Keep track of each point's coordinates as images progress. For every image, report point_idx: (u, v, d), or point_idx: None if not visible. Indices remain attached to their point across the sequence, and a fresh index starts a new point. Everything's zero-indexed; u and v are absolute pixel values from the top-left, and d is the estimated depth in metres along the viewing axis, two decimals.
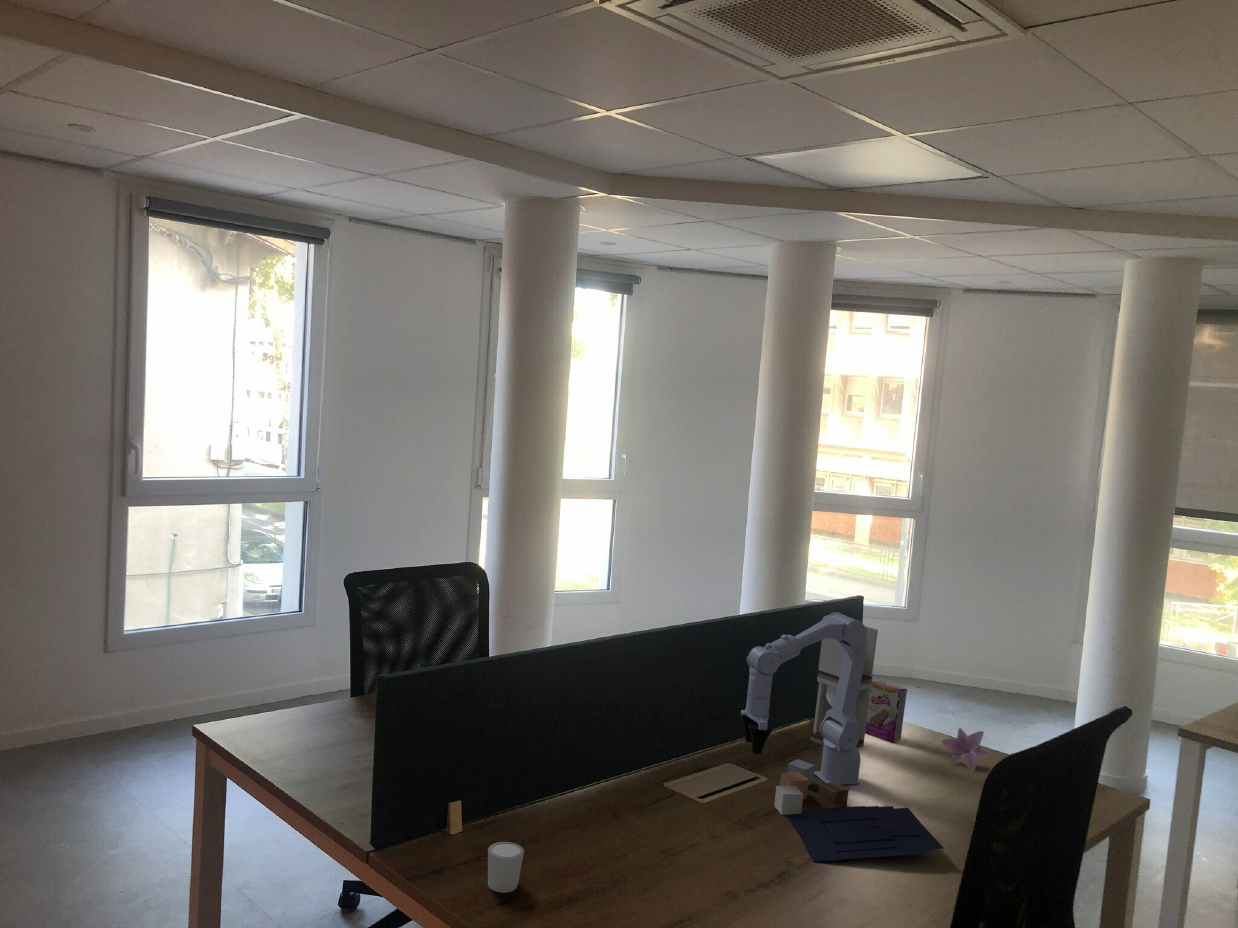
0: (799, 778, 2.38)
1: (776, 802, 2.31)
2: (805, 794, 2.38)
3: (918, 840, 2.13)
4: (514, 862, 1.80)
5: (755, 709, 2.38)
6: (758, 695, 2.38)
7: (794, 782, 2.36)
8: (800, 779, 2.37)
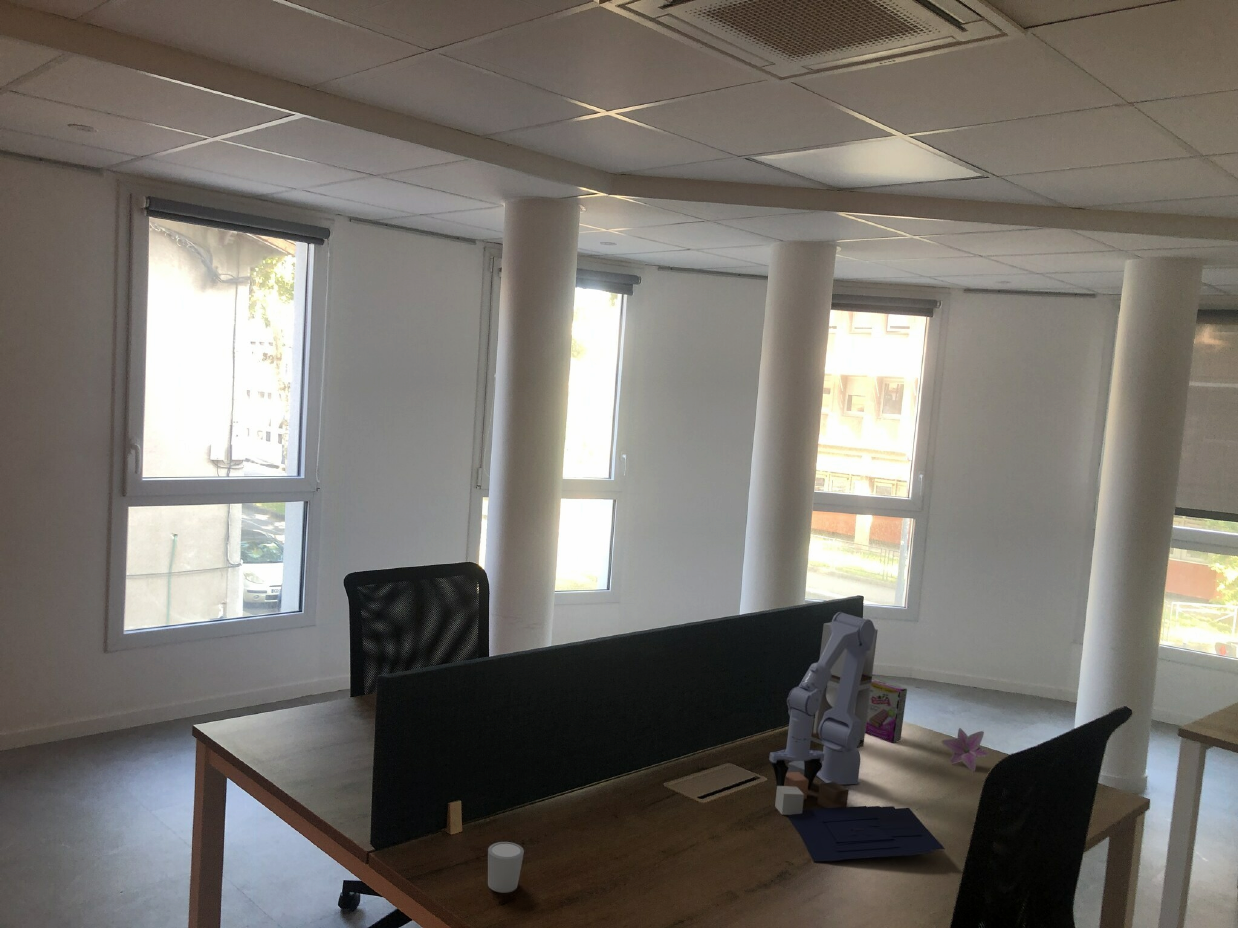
0: (799, 778, 2.38)
1: (777, 802, 2.30)
2: (805, 794, 2.38)
3: (919, 840, 2.13)
4: (514, 862, 1.80)
5: None
6: (804, 737, 2.35)
7: (794, 782, 2.36)
8: (800, 779, 2.37)
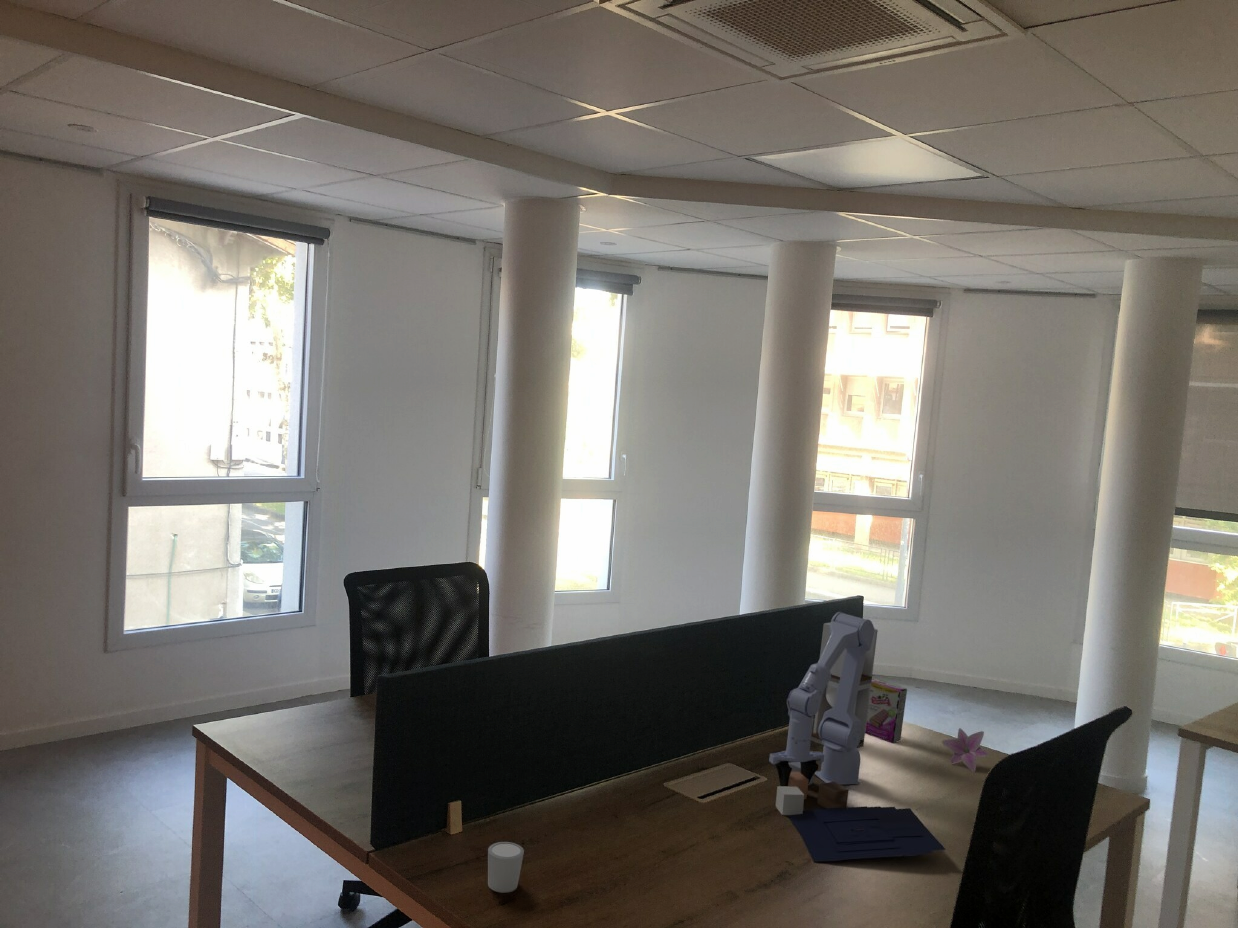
0: (799, 777, 2.38)
1: (777, 802, 2.30)
2: (805, 794, 2.38)
3: (920, 841, 2.13)
4: (514, 862, 1.80)
5: None
6: (803, 738, 2.35)
7: (794, 782, 2.36)
8: (800, 779, 2.37)
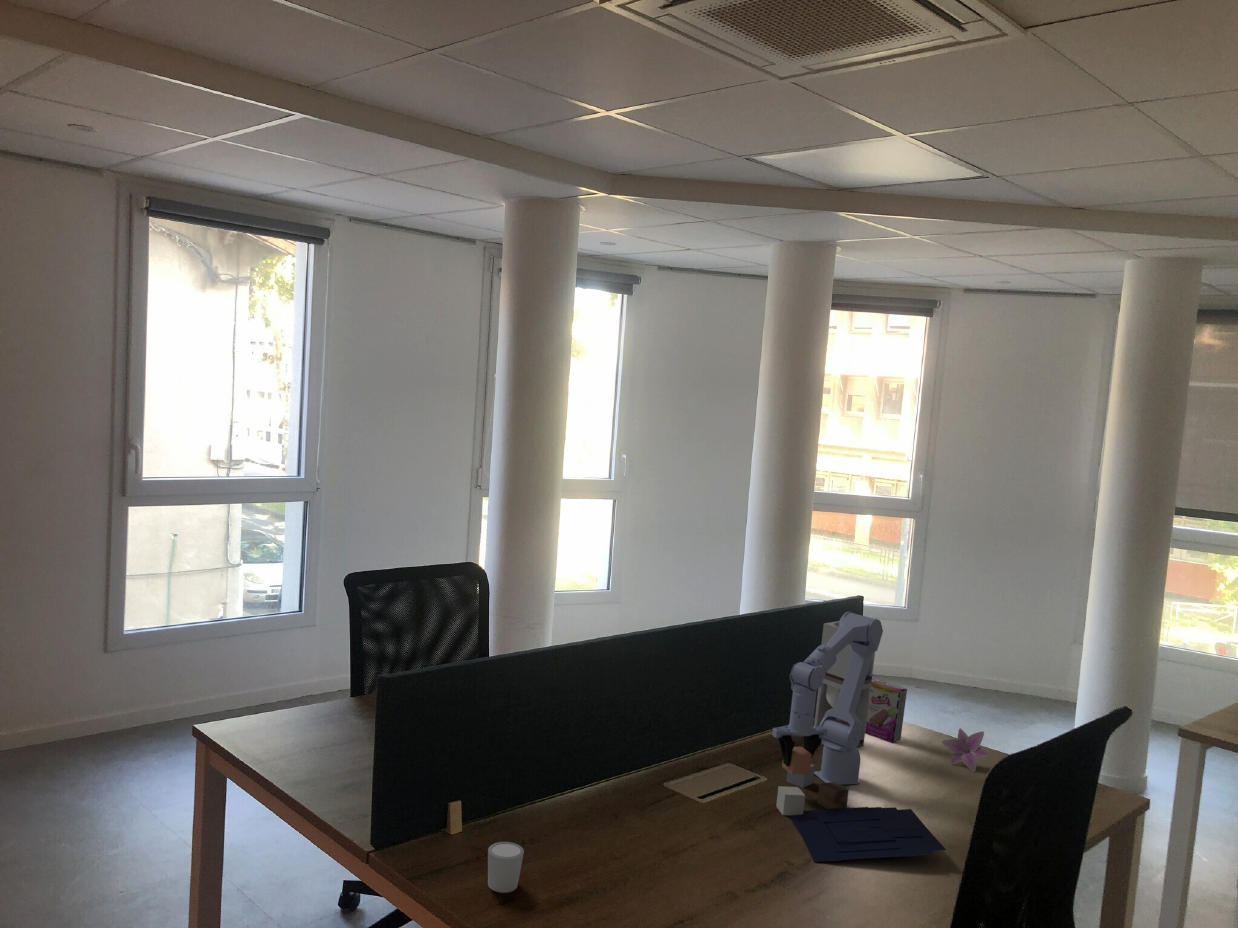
0: (802, 752, 2.37)
1: (778, 802, 2.30)
2: (808, 768, 2.37)
3: (921, 841, 2.12)
4: (514, 862, 1.80)
5: None
6: (807, 712, 2.35)
7: (797, 756, 2.36)
8: (803, 753, 2.37)
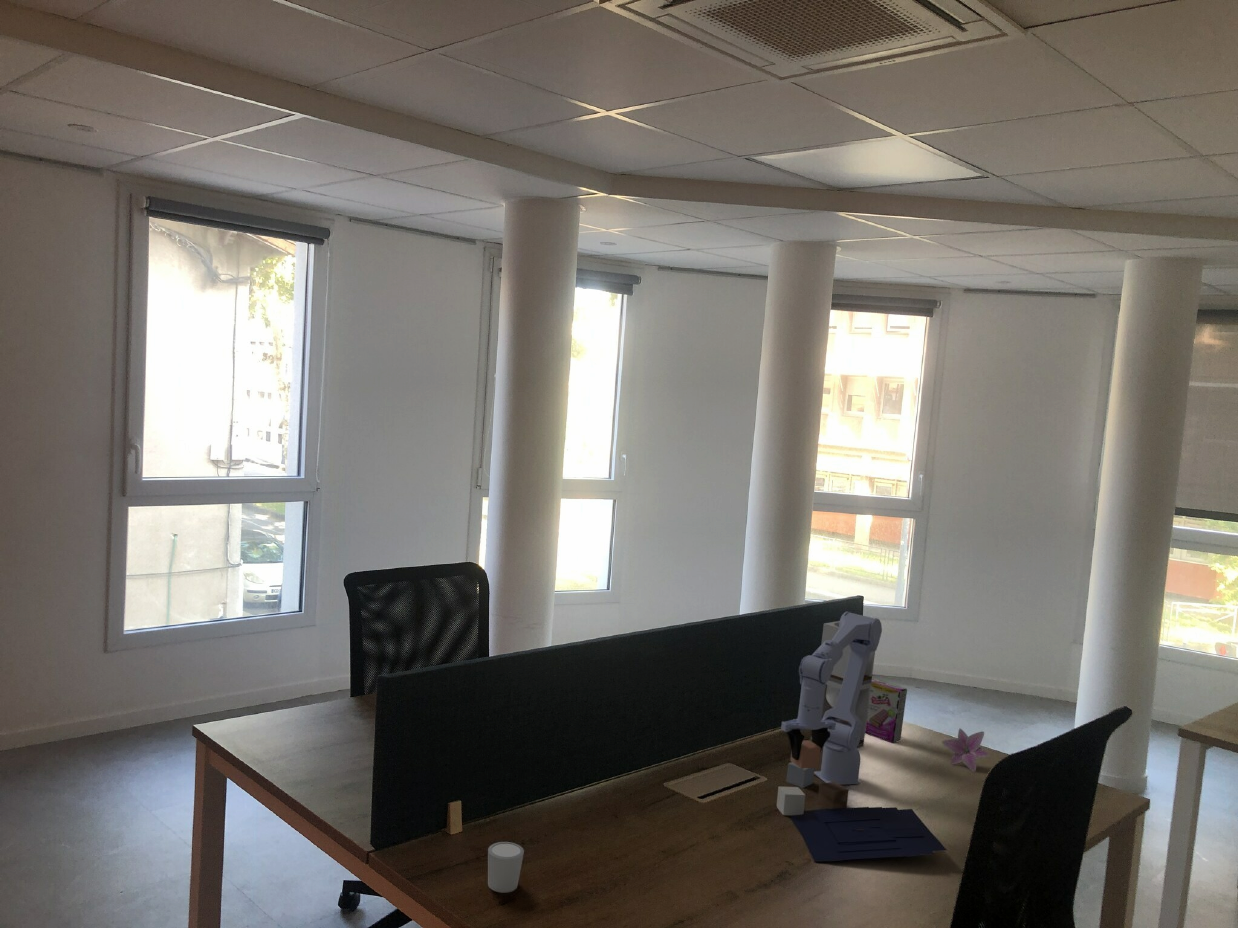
0: (811, 746, 2.36)
1: (778, 803, 2.30)
2: (817, 762, 2.35)
3: (921, 841, 2.12)
4: (514, 862, 1.80)
5: (798, 714, 2.36)
6: (817, 705, 2.33)
7: (806, 750, 2.34)
8: (812, 747, 2.35)
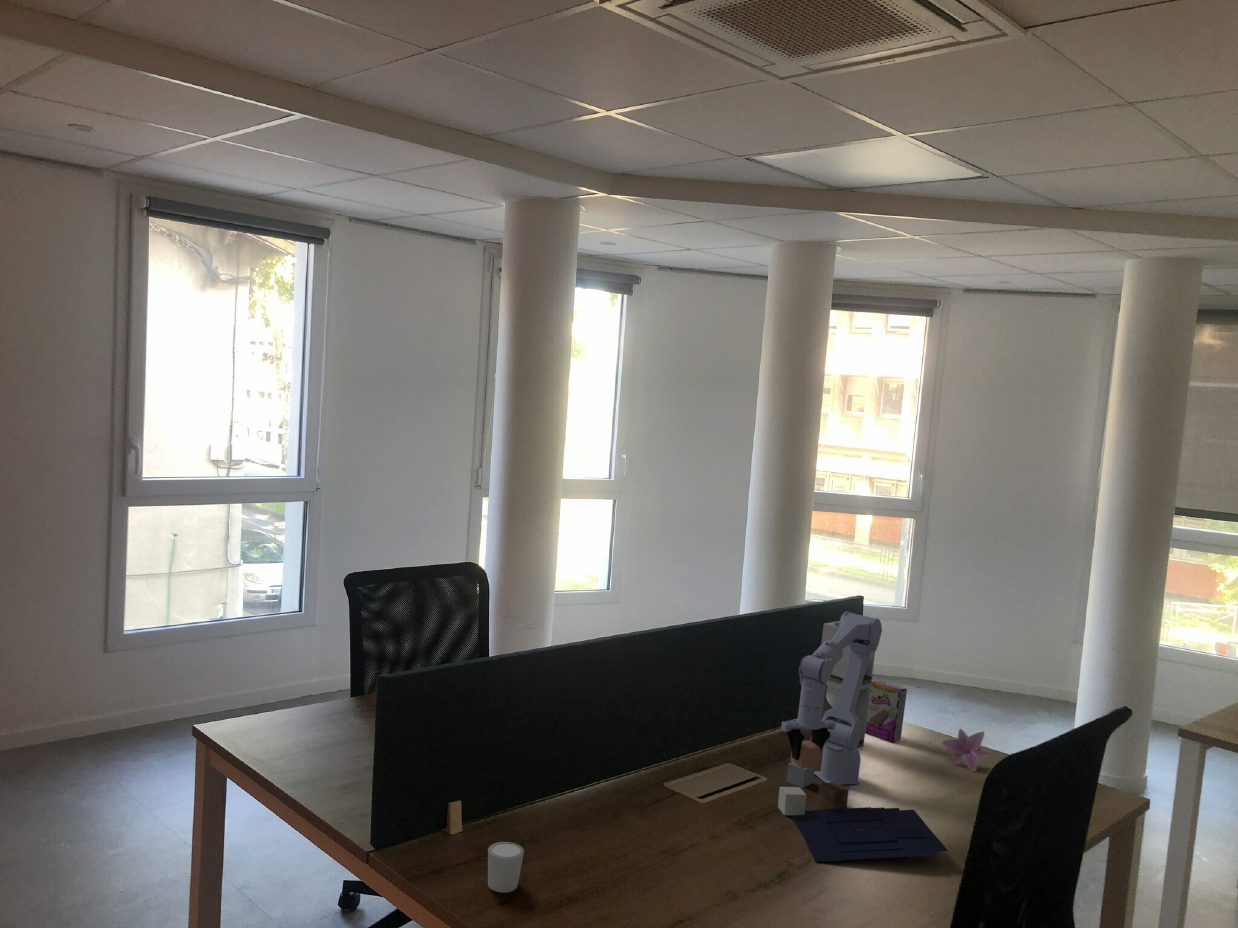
0: (811, 746, 2.36)
1: (779, 803, 2.30)
2: (817, 762, 2.35)
3: (923, 842, 2.12)
4: (514, 862, 1.80)
5: (798, 714, 2.36)
6: (817, 705, 2.33)
7: (806, 750, 2.34)
8: (812, 747, 2.35)
